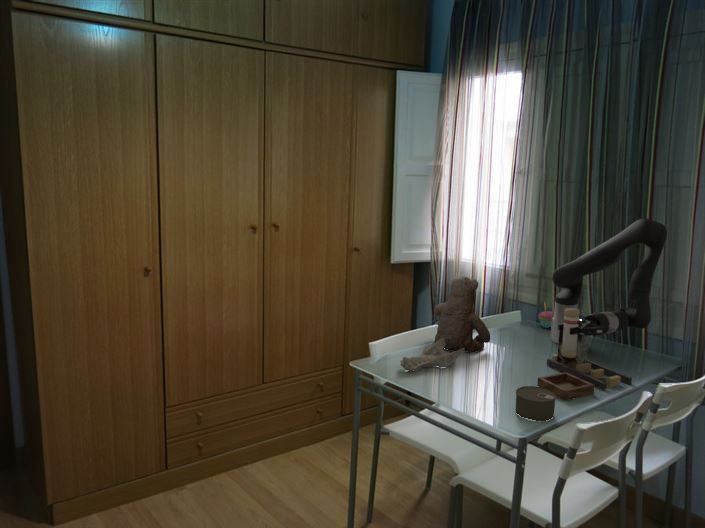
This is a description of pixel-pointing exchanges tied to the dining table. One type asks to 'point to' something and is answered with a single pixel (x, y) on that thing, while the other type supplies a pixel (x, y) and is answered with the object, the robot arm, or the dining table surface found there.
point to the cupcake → (546, 318)
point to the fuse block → (592, 373)
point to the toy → (461, 318)
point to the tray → (566, 385)
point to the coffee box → (580, 355)
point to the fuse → (569, 340)
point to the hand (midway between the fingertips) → (564, 329)
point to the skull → (432, 357)
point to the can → (535, 403)
